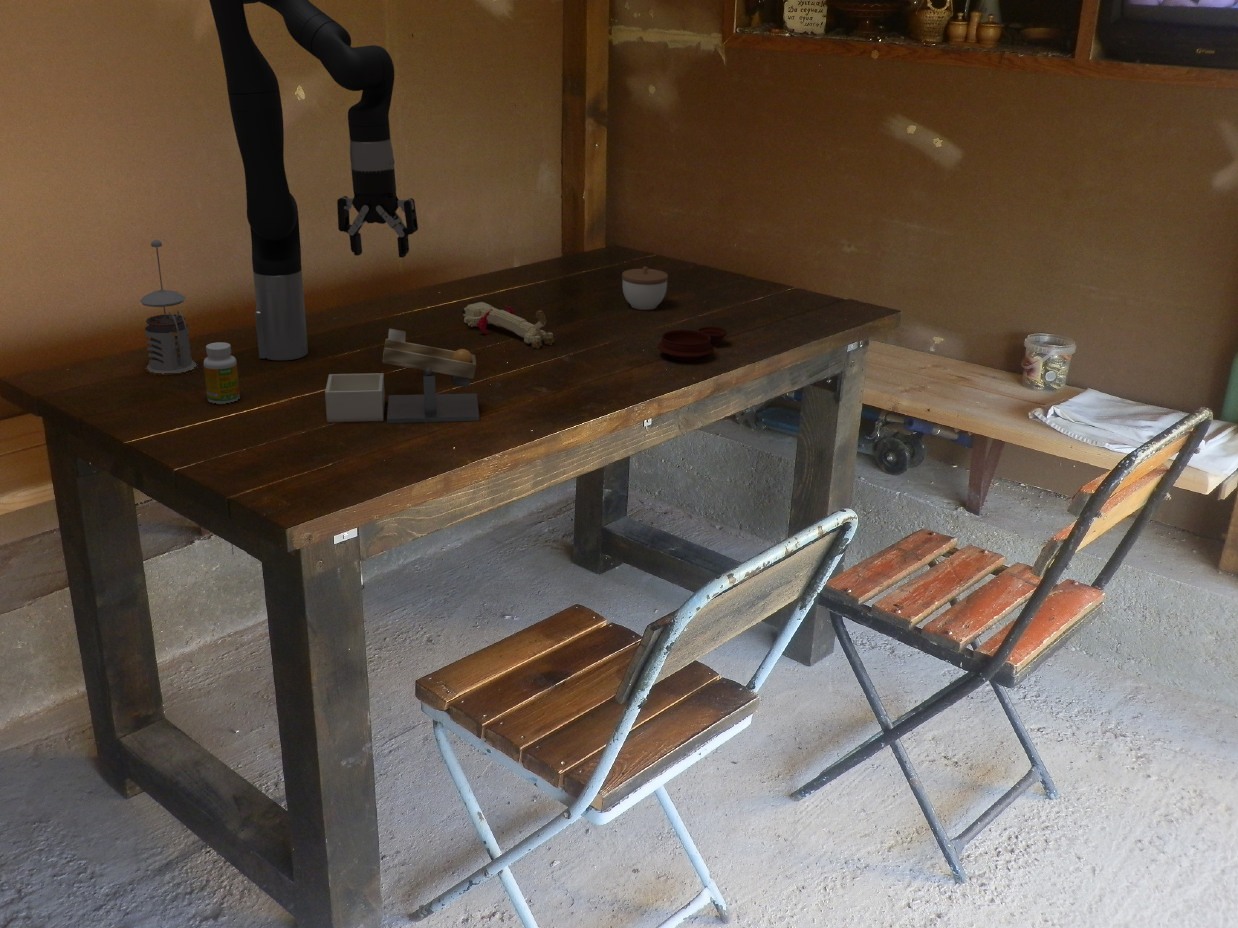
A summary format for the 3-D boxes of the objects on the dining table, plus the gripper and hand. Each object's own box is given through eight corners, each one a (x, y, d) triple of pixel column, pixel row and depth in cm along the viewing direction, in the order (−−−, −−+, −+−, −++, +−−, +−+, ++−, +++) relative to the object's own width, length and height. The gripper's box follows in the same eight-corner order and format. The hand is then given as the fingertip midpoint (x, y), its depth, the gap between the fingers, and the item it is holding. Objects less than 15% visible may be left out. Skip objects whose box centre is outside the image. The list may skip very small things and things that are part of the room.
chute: (380, 375, 208) (384, 351, 206) (383, 348, 221) (387, 325, 220) (471, 391, 211) (476, 367, 210) (468, 363, 225) (473, 341, 224)
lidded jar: (674, 305, 285) (676, 266, 281) (651, 315, 277) (653, 275, 273) (636, 297, 290) (637, 259, 286) (612, 307, 282) (613, 268, 278)
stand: (387, 423, 210) (385, 380, 206) (388, 399, 220) (386, 359, 217) (479, 420, 212) (478, 379, 209) (476, 397, 223) (475, 357, 220)
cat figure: (560, 348, 257) (483, 314, 271) (563, 309, 253) (485, 277, 267) (526, 358, 250) (449, 322, 264) (529, 318, 246) (450, 284, 261)
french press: (183, 356, 239) (169, 232, 230) (211, 371, 232) (197, 243, 222) (135, 366, 233) (118, 238, 223) (162, 382, 226) (146, 250, 216)
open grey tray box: (327, 422, 209) (324, 392, 207) (331, 403, 218) (329, 374, 216) (383, 420, 211) (381, 391, 208) (384, 401, 219) (383, 373, 217)
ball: (449, 367, 212) (456, 349, 211) (449, 361, 215) (456, 343, 214) (468, 374, 213) (475, 356, 212) (467, 367, 216) (474, 350, 215)
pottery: (646, 358, 248) (647, 338, 246) (695, 336, 263) (696, 316, 261) (695, 369, 242) (696, 348, 240) (742, 346, 257) (744, 326, 256)
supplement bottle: (222, 407, 214) (216, 352, 210) (200, 400, 217) (194, 346, 213) (246, 398, 219) (241, 344, 215) (225, 392, 222) (219, 339, 217)
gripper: (326, 168, 210) (335, 259, 217) (403, 170, 208) (411, 262, 215) (342, 161, 217) (351, 249, 224) (418, 162, 215) (424, 252, 221)
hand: (380, 255), depth 219 cm, fingers open, 8 cm apart
